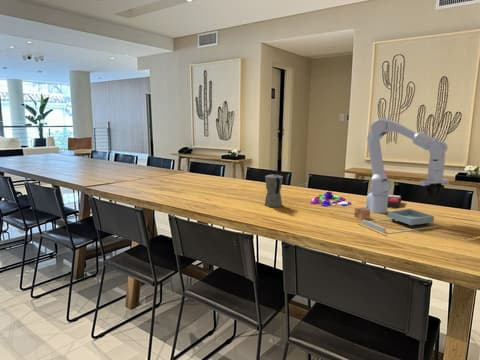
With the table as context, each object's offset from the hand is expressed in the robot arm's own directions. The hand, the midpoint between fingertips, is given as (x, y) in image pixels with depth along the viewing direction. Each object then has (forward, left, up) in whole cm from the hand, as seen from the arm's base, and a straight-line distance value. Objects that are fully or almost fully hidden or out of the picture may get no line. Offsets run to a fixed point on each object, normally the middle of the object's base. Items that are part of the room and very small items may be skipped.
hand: (432, 201), depth 147 cm
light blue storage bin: (0, -12, -9) cm, 15 cm away
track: (0, -18, -9) cm, 20 cm away
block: (-14, -25, -10) cm, 30 cm away
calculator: (-32, +8, -10) cm, 35 cm away
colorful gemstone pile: (-47, -17, -10) cm, 51 cm away
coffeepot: (-49, -51, -10) cm, 71 cm away
